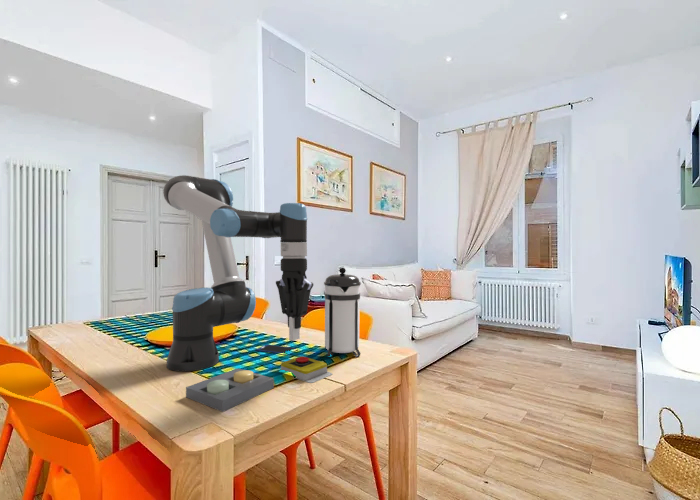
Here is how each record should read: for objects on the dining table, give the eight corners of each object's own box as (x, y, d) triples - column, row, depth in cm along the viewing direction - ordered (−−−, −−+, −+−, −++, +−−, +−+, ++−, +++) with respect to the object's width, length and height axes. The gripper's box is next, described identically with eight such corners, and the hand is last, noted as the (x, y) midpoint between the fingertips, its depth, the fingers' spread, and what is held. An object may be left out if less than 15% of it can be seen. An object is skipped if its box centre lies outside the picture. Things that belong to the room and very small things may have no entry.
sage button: (202, 396, 87) (202, 384, 87) (220, 389, 91) (220, 378, 91) (215, 401, 84) (215, 389, 84) (232, 394, 88) (233, 382, 88)
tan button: (229, 385, 94) (229, 374, 94) (244, 379, 98) (244, 369, 98) (242, 390, 91) (242, 378, 91) (257, 383, 95) (257, 372, 95)
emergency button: (299, 351, 114) (333, 361, 104) (299, 364, 114) (333, 375, 104) (276, 358, 106) (311, 369, 97) (276, 372, 107) (311, 385, 97)
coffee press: (373, 351, 126) (374, 267, 126) (343, 362, 114) (343, 269, 114) (338, 342, 138) (338, 265, 137) (307, 351, 126) (307, 267, 125)
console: (186, 397, 88) (186, 387, 88) (238, 377, 101) (238, 368, 101) (222, 411, 80) (222, 400, 80) (273, 387, 94) (273, 378, 94)
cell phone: (266, 346, 133) (266, 344, 133) (299, 350, 128) (299, 348, 128) (254, 351, 126) (254, 349, 126) (289, 356, 122) (289, 354, 122)
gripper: (268, 257, 103) (269, 338, 103) (301, 258, 95) (302, 345, 96) (287, 256, 109) (287, 333, 109) (319, 257, 101) (320, 339, 102)
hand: (294, 339), depth 102 cm, fingers closed
